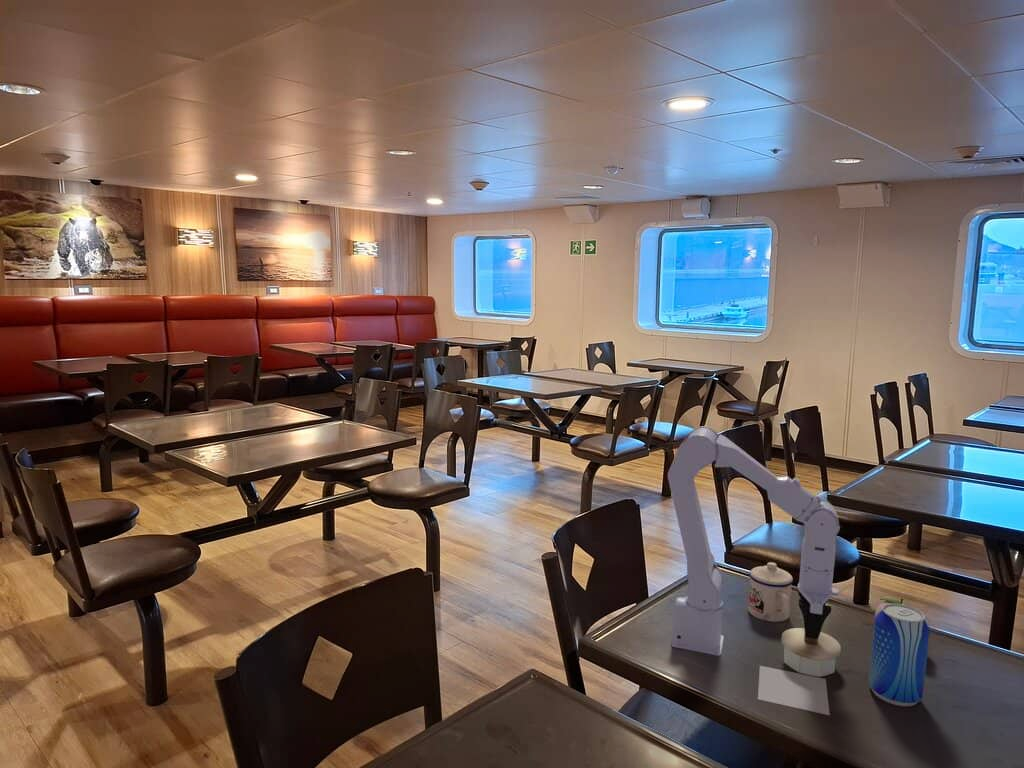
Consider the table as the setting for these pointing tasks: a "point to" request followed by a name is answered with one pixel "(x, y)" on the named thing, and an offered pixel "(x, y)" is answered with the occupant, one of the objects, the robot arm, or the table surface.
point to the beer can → (899, 655)
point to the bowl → (809, 664)
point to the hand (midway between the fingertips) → (811, 632)
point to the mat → (793, 690)
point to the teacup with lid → (770, 593)
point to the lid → (811, 645)
